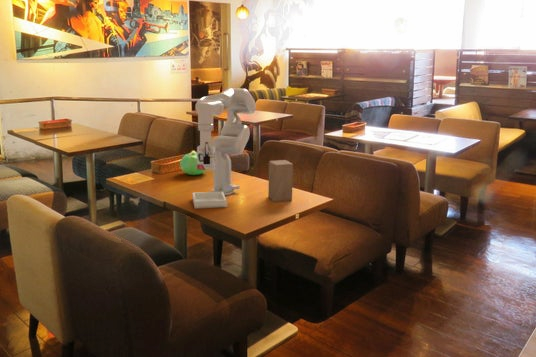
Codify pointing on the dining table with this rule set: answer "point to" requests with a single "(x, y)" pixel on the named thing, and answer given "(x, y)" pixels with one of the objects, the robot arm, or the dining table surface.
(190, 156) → the green teapot
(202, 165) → the ink box
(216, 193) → the tray
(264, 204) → the dining table surface
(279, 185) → the wooden block
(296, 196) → the dining table surface
